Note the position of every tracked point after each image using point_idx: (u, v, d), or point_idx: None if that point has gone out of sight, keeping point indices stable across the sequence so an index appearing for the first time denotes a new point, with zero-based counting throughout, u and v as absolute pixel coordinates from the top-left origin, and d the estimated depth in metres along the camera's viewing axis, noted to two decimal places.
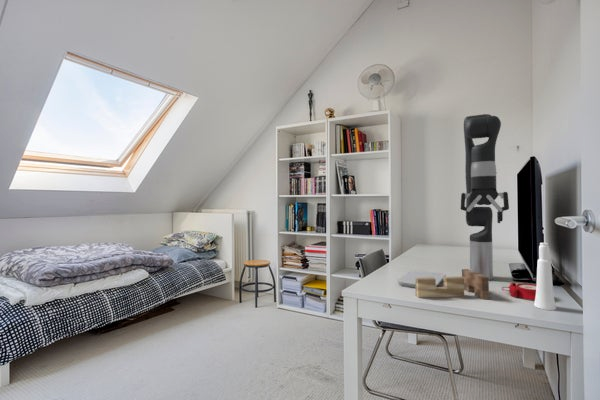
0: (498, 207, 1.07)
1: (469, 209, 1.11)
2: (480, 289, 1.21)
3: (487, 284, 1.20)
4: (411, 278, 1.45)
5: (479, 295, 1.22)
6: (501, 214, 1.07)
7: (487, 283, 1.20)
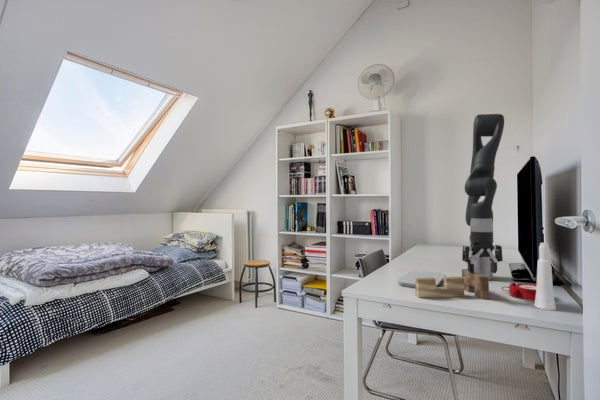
0: None
1: None
2: (480, 289, 1.21)
3: (487, 284, 1.20)
4: (411, 278, 1.45)
5: (479, 295, 1.22)
6: None
7: (487, 283, 1.20)
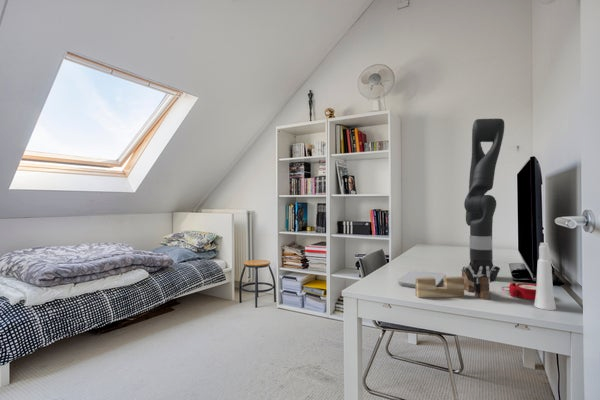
0: None
1: None
2: (480, 289, 1.21)
3: (487, 284, 1.20)
4: (411, 278, 1.45)
5: (479, 295, 1.22)
6: None
7: (487, 283, 1.20)
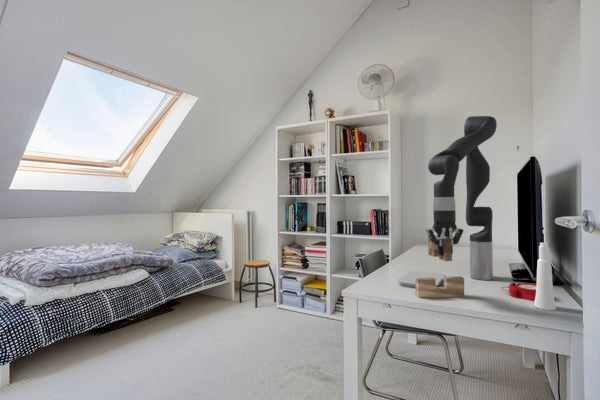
0: None
1: None
2: (443, 251, 1.18)
3: (450, 246, 1.17)
4: (411, 278, 1.45)
5: (442, 258, 1.19)
6: None
7: (450, 245, 1.17)
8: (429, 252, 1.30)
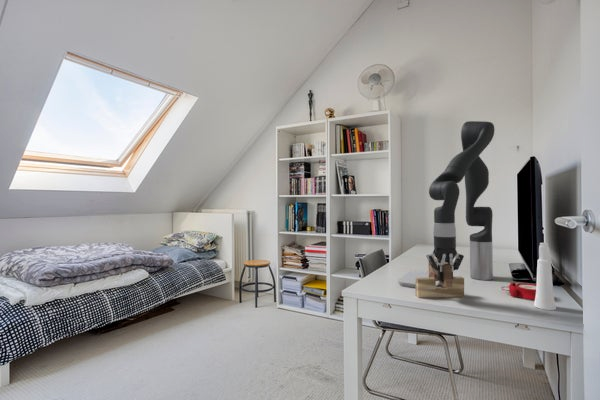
0: None
1: None
2: (444, 277, 1.18)
3: (450, 272, 1.17)
4: (411, 278, 1.45)
5: (443, 283, 1.19)
6: None
7: (450, 271, 1.17)
8: (429, 276, 1.30)
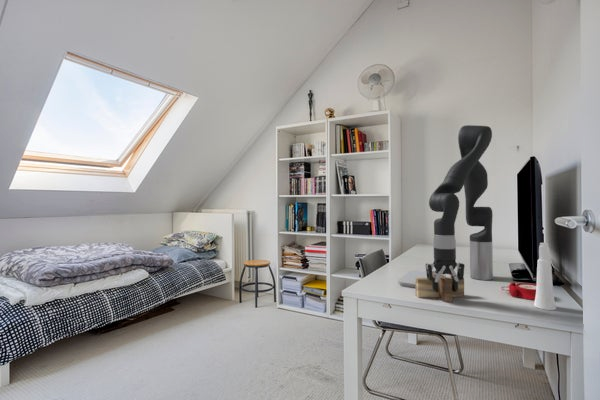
0: None
1: None
2: (443, 292, 1.19)
3: (450, 287, 1.18)
4: (411, 278, 1.45)
5: (443, 298, 1.19)
6: None
7: (450, 286, 1.18)
8: None
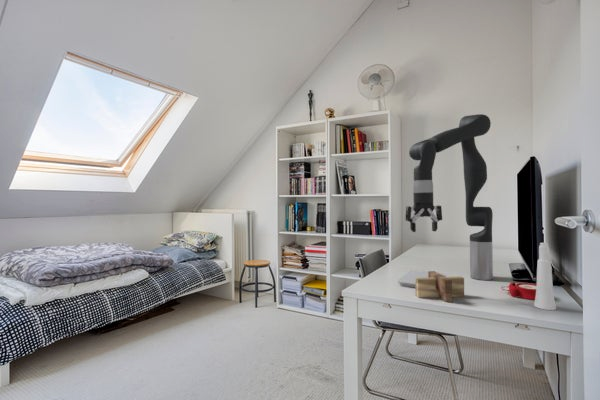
0: None
1: None
2: (443, 292, 1.19)
3: (450, 287, 1.18)
4: (411, 278, 1.45)
5: (443, 298, 1.19)
6: None
7: (450, 286, 1.18)
8: None
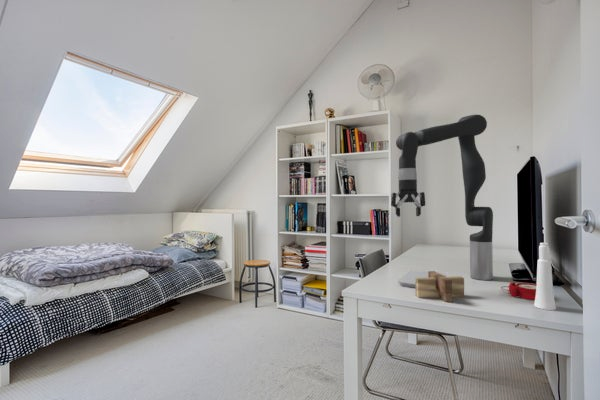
0: None
1: None
2: (443, 292, 1.19)
3: (450, 287, 1.18)
4: (412, 278, 1.45)
5: (443, 298, 1.19)
6: None
7: (450, 286, 1.18)
8: None
